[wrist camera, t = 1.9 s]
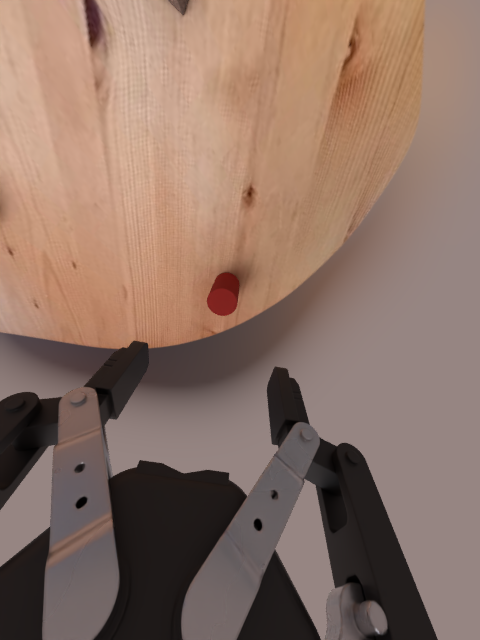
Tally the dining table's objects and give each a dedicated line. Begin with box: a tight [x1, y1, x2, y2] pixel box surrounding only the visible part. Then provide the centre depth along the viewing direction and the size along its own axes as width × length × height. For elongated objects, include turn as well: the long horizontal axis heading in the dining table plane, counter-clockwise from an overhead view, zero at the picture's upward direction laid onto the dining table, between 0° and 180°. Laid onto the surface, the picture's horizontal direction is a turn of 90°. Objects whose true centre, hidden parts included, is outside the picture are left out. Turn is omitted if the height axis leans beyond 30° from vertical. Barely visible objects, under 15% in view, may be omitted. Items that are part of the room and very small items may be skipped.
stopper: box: [207, 273, 239, 316], centre depth 27 cm, size 4×4×6 cm
